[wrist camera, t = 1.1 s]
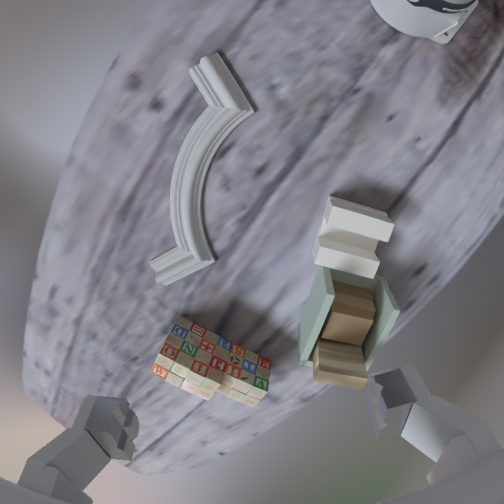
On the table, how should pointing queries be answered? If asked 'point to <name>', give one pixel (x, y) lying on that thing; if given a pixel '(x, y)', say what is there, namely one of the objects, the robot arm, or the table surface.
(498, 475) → the robot arm
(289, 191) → the table surface
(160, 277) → the molding
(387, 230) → the holder
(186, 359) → the stack of blocks
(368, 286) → the rack
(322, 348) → the rectangular block
